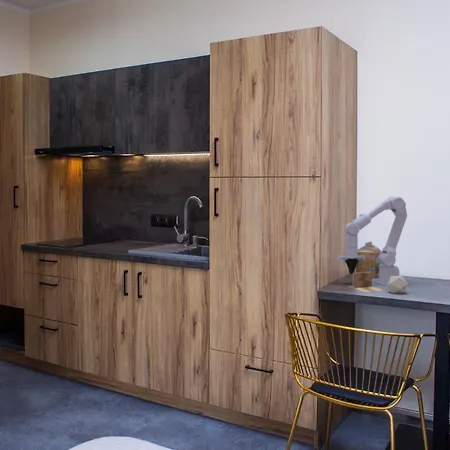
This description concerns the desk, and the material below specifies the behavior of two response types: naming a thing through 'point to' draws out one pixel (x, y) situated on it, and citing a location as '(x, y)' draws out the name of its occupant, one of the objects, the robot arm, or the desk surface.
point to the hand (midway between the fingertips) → (351, 273)
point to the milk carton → (369, 260)
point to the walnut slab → (362, 279)
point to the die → (397, 284)
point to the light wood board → (368, 289)
